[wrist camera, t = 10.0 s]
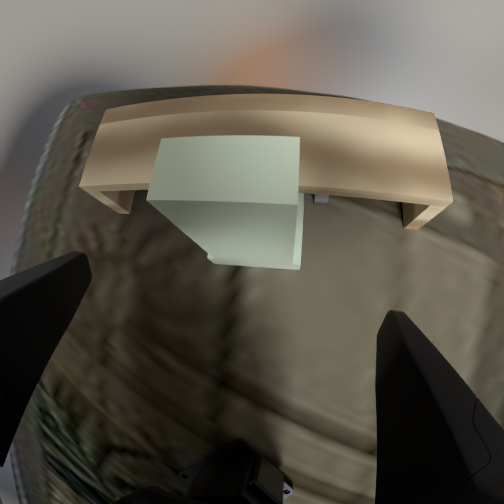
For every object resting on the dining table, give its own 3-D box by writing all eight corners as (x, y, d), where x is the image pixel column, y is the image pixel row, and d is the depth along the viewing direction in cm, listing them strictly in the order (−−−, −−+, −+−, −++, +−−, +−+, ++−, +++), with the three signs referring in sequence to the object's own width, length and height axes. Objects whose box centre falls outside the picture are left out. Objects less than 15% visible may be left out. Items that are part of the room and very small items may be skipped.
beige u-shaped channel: (417, 229, 20) (452, 201, 14) (118, 213, 23) (78, 186, 18) (408, 153, 21) (433, 113, 16) (136, 145, 25) (106, 109, 19)
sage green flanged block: (299, 269, 20) (313, 205, 9) (214, 263, 21) (133, 200, 10) (304, 166, 22) (311, 43, 10) (227, 164, 23) (181, 49, 11)
